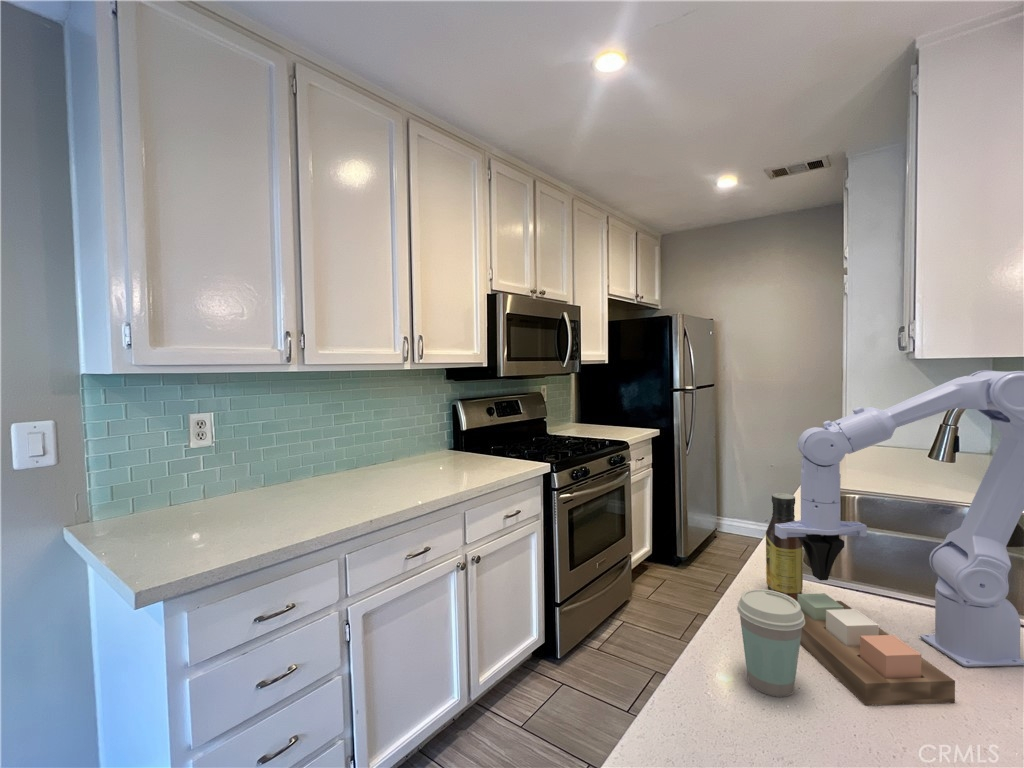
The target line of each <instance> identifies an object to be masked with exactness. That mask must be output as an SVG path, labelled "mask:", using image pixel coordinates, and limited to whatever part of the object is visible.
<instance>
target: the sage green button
mask: <svg viewBox="0 0 1024 768" xmlns="http://www.w3.org/2000/svg"><path fill="white" fill-rule="evenodd" d="M836 601H837V600H835V599H833V598H832V597H831V596H829V595H828V594H827V593H825V592H824V593H802V594H798V599H797V602H798V603H799V604H800V607H801V610H803V611H804V612H805V613H806V614H807V615H809V616H810V617H811V618H812V619H813V620H826V610H838V609H844V607H843V606H842V605H840V604H839V603H838V602H836Z"/></svg>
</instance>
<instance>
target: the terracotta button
mask: <svg viewBox="0 0 1024 768" xmlns="http://www.w3.org/2000/svg"><path fill="white" fill-rule="evenodd" d="M921 657H922V653H920V652H919V651H917V650H916V649H914V648H913V647H911V646H910V645H908V644H907V643H905V642H904V641H902V640H901V639H900V638H898V637H897V636H895V635H894V634H889V635H872V636H860V658H861V659H862V660H863V661H864V662H866V663H867V664H868V665H869V666H871V667H872V668H873V669H874V670H875V671H877V672H878V673H879V674H880V675H881V676H883V677H884V678H885V679H898V678H921Z"/></svg>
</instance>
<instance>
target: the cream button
mask: <svg viewBox="0 0 1024 768" xmlns="http://www.w3.org/2000/svg"><path fill="white" fill-rule="evenodd" d="M879 626H880V625H879V624H878V623H876V622H875V621H873V620H872V619H871V618H870V617H868V616H866V615H865V614H863V613H862V612H860V611H859V610H858V609H856V608H852V609H838V610H826V630H827V631H828V632H829V633H830V634H832V635H833V636H834V637H835V638H837V639H838V640H839V641H840V642H841V643H843V644H844V645H845V646H846V647H850V646H860V636H872V635H879V628H880V627H879Z"/></svg>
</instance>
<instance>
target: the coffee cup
mask: <svg viewBox="0 0 1024 768" xmlns="http://www.w3.org/2000/svg"><path fill="white" fill-rule="evenodd" d="M736 610H737V613H738V614H739V617H740V619H739V620H740V627H741V635H742V641H743V650H744V651H743V652H744V658H745V666H746V667H745V668H746V673H747V681H748V683H750V685H751V686H752V687H753V688H754V689H755V690H757V691H759V692H761V693H763V694H765V695H768V696H773V697H778V698H779V697H782V698H784V697H788V696H790V695H792V694H793V693H794V691H795V690H794V689H795V682H796V679H797V678H796V676H797V669H798V662H799V654H800V646H801V644H800V640H801V632H802V627H803V626H804V624H805V619H804V614H803V612H802V610H801V607H800V604H799V603H798V600H797V599H793V598H792V597H790V596H788V595H785V594H783V593H780V592H776V591H771V590H768V589H763V588H756V589H748V590H745V591H743V592H742V593H741V595H740V598H739V600H738V601H737V606H736Z"/></svg>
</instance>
